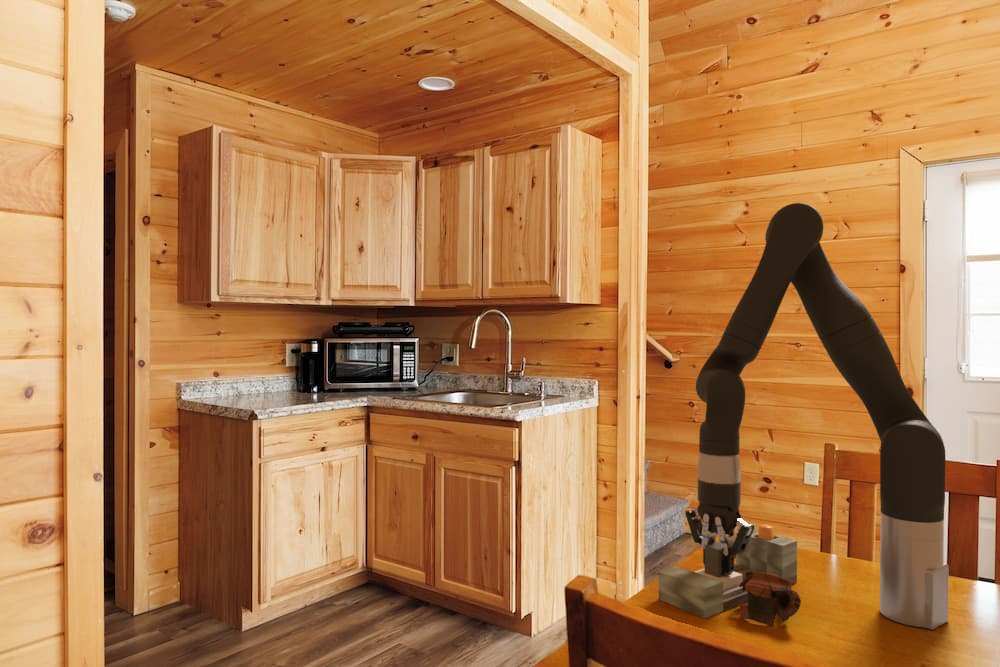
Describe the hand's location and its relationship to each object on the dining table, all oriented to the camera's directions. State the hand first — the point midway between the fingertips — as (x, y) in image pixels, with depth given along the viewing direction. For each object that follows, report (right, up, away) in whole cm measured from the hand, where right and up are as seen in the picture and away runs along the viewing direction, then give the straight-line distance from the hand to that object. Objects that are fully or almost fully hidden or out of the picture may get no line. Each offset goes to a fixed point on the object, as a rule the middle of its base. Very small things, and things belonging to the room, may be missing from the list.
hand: (718, 571), depth 126 cm
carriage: (0, -2, 0) cm, 2 cm away
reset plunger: (+12, 0, +9) cm, 15 cm away
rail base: (+3, -4, +2) cm, 6 cm away
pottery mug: (+6, -5, -9) cm, 12 cm away
